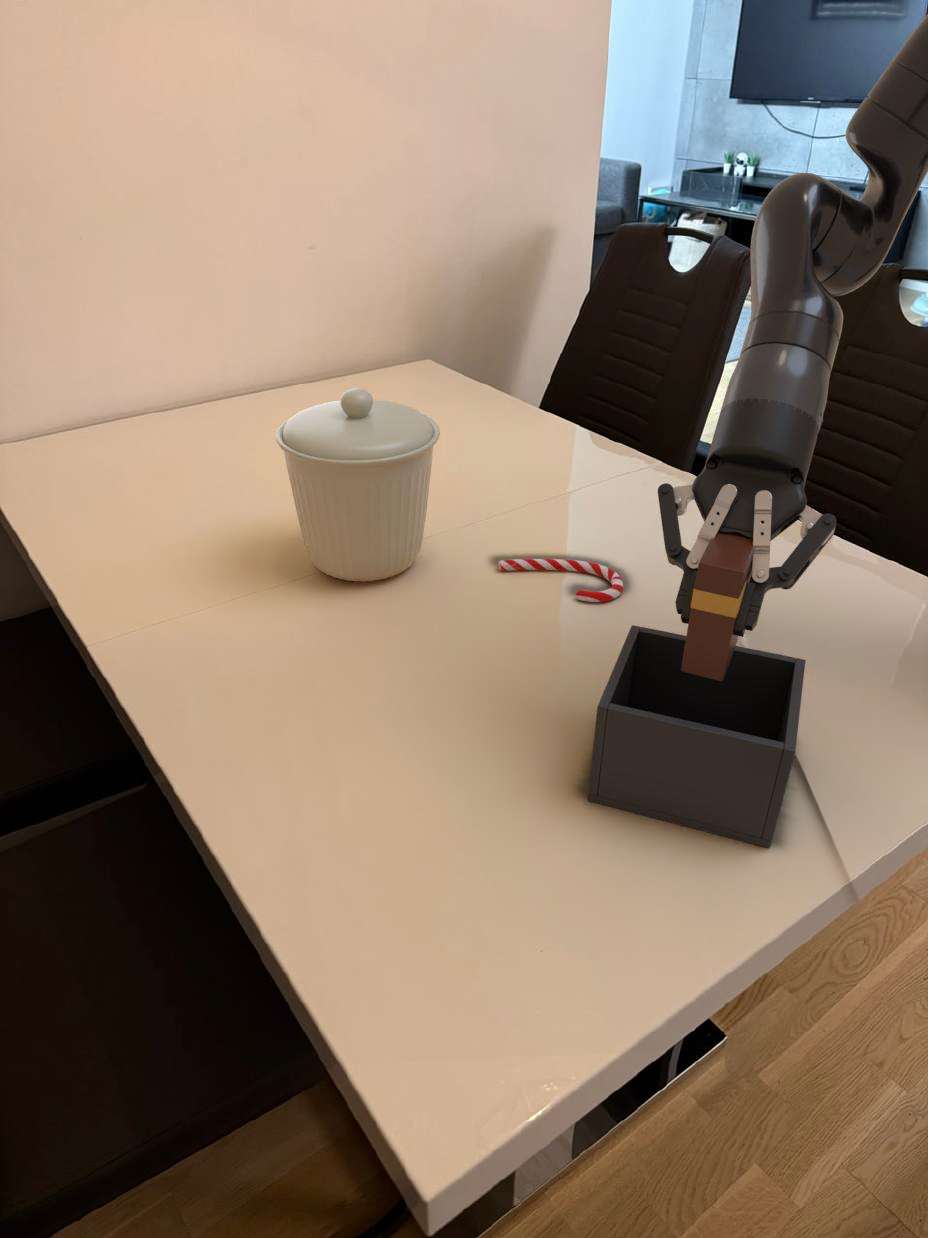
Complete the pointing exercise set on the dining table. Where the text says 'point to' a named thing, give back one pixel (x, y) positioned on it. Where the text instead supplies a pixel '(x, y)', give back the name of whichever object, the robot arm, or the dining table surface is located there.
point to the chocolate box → (717, 605)
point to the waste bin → (697, 737)
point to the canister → (360, 483)
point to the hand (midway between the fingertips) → (712, 626)
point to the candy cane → (571, 566)
